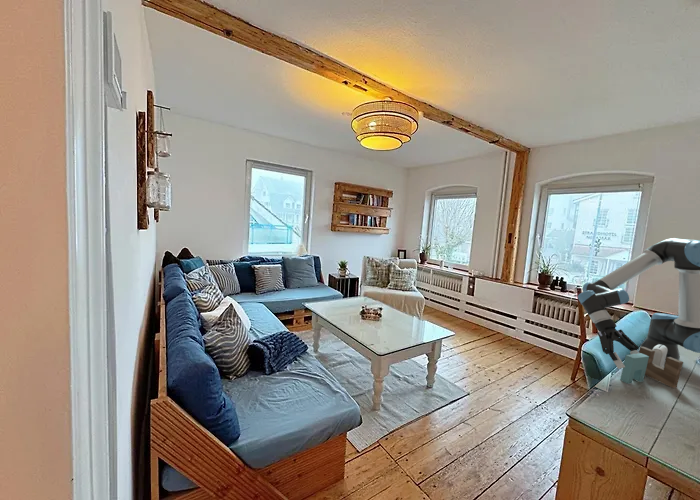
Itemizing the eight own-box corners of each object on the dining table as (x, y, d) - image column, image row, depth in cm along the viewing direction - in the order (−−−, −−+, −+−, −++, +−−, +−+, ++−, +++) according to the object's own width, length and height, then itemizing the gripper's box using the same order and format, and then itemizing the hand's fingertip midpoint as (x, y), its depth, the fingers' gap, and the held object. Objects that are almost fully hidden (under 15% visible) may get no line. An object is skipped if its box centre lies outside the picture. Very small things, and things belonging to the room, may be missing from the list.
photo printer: (652, 364, 151) (657, 341, 149) (664, 368, 147) (670, 345, 145) (646, 369, 145) (652, 345, 143) (658, 373, 141) (664, 349, 139)
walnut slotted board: (638, 370, 144) (643, 346, 142) (676, 387, 130) (683, 361, 129) (634, 370, 143) (640, 347, 141) (673, 388, 130) (679, 362, 128)
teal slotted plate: (635, 377, 136) (640, 353, 135) (643, 381, 134) (649, 356, 132) (620, 379, 133) (625, 354, 132) (628, 383, 131) (633, 358, 129)
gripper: (613, 323, 151) (642, 366, 139) (577, 325, 144) (604, 371, 132) (628, 317, 145) (659, 362, 133) (591, 319, 138) (621, 366, 126)
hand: (632, 366), depth 133 cm, fingers open, 13 cm apart
